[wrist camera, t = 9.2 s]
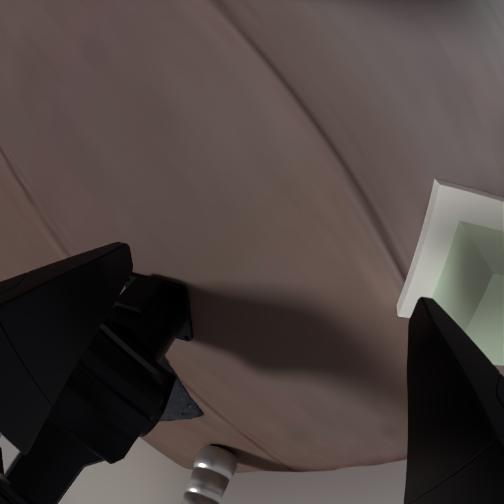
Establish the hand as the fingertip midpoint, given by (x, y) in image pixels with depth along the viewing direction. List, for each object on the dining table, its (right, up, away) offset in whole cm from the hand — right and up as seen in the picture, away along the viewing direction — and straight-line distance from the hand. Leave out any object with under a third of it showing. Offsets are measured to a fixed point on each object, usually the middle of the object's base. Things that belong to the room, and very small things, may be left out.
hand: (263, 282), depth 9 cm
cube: (+15, 0, +8) cm, 17 cm away
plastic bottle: (-5, -31, +34) cm, 46 cm away
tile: (+16, 0, +9) cm, 18 cm away
